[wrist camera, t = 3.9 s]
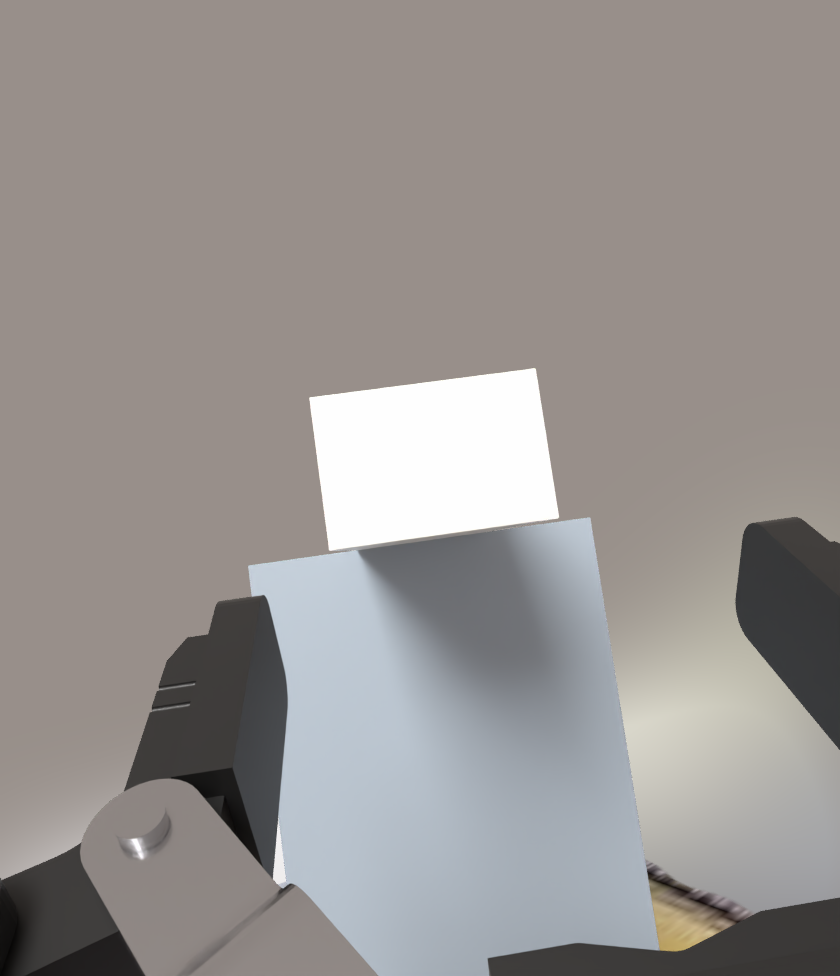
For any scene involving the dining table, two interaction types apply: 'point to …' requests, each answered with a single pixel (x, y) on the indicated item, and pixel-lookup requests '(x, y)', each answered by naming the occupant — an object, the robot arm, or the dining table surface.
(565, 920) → the post
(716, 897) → the dining table surface
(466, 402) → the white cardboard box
